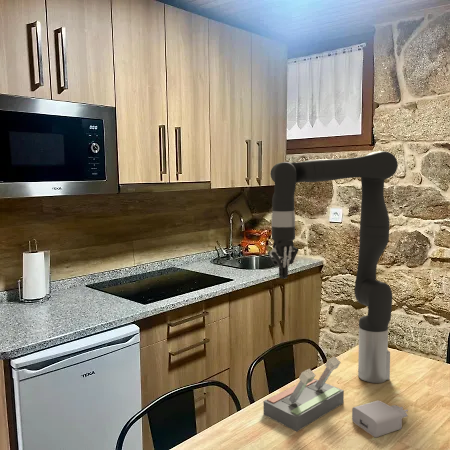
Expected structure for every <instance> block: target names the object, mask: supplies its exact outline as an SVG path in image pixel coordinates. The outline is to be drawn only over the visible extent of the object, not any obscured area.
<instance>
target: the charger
mask: <svg viewBox="0 0 450 450" xmlns="http://www.w3.org/2000/svg"><path fill="white" fill-rule="evenodd" d="M351 411H352V412H351V419H352V422H353V423H354V424H355V425H357V426H358V427H359V428H361V429H362V430H363V431H365V432H366V433H368V434H369V435H371V436H372V437H373V438H379V437H381V436H384V435H387V434H390V433H393V432H396V431H399V430H402V427H403V426H402V424H403V420H402V419H404V418H408V413H407V412H408V411H409V410H408V409H404V407H403V406H399V405H396V404H394V405H389V404H387V403H385V402H383V401H381V400H374V401H372V402H371V401H370V402H368V403H364V404H361V405H357V406H353V407H352V408H351Z"/></svg>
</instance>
